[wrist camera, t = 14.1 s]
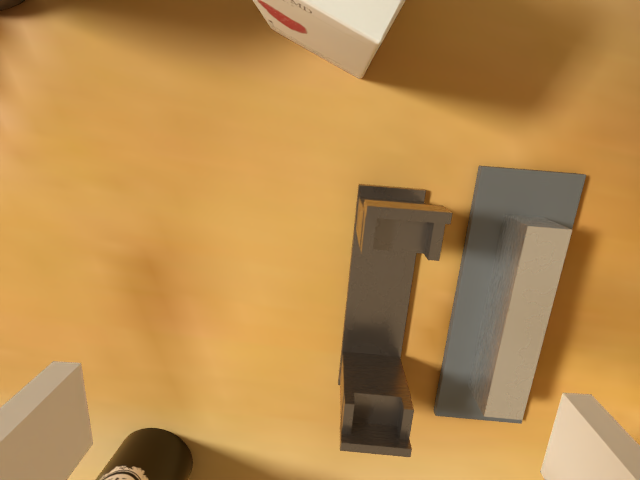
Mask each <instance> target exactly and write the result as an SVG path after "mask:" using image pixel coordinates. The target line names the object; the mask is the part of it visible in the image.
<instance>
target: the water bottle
mask: <svg viewBox="0 0 640 480" xmlns="http://www.w3.org/2000/svg"><path fill="white" fill-rule="evenodd" d="M192 464H193V461H192V455H191V452H190V450H189V448H188V447H187V445H186V444H185V443H184V442H183V441H182V440H181V439H180V438H179V437H177V436H176V435H174V434H172V433H170V432H168V431H165V430H161V429H155V428H147V429H141V430H138V431H135V432H133V433H132V434H130V435H129V436H128V437H127V438H126V439H125V440H124V442H123V443H122V444H121V446H120V447H119V448H118V450H117V451H116V453H115V454H114V455H113V457H112V458H111V459H110V461H109V462H108V464H107V465H106V466H105V468H104V469H103V470H102V472H101V473H100V475H99V476H98V477H97V479H96V480H188V477H189V475H190V472H191V469H192Z"/></svg>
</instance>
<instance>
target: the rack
mask: <svg viewBox="0 0 640 480" xmlns="http://www.w3.org/2000/svg"><path fill="white" fill-rule="evenodd" d="M425 192H426V190H424V189H413V188H401V187H388V186H376V185H364V184H359V186H358V195H357V205H356V215H355V224H354V234H353V244H352V253H351V263H350V273H349V282H348V292H347V302H346V311H345V321H344V331H343V341H342V350H341V360H340V370H339V379H338V385H340V406H341V423H340V451H350V452H361V453H371V454H382V455H393V456H403V457H410V456H411V450H412V449H411V444H410V440H409V436H410V430H411V424H412V418H413V413H414V409H413V405H412V401H411V396H410V392H409V388H408V385H407V381H406V378H405V374H404V370H403V367H402V363H401V359H400V358H401V351H402V345H403V338H404V331H405V325H406V318H407V311H408V305H409V298H410V292H411V285H412V278H413V272H414V265H415V258H416V253H423V254H424V255H425V256H426V257H427V259H428V260H436V261H439V258H440V252H441V247H442V241H443V235H444V229H445V224H451V218H452V212H451V211H449V210H448V209H446V208H445V207H444V206H438V205H427V204H426V203H424V199H425Z"/></svg>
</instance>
